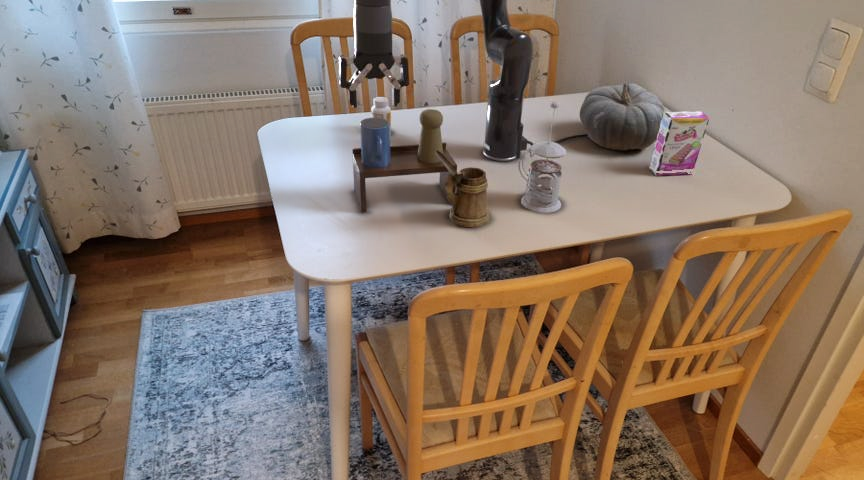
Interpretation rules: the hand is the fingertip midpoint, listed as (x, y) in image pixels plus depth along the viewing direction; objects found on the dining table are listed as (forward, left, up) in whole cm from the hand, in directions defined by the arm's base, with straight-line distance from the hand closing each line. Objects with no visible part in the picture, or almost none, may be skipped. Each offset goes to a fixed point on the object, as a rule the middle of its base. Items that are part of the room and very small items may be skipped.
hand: (374, 105), depth 135 cm
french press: (-38, +7, -23) cm, 45 cm away
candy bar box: (-80, -1, -23) cm, 84 cm away
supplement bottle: (-9, -40, -23) cm, 46 cm away
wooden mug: (-17, +12, -23) cm, 31 cm away
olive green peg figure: (-13, 0, -13) cm, 18 cm away
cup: (0, 0, -13) cm, 13 cm away
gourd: (-76, -22, -23) cm, 83 cm away
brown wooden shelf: (-7, 0, -23) cm, 24 cm away
